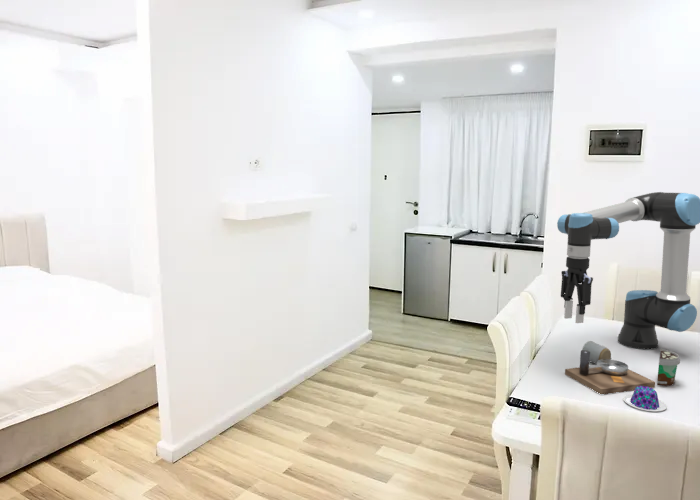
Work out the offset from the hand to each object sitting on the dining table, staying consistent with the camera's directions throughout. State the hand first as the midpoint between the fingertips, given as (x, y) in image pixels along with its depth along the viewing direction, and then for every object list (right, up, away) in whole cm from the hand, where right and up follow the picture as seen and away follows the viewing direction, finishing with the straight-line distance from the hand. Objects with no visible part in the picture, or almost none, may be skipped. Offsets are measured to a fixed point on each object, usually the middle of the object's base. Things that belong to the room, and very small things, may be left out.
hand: (573, 320), depth 185 cm
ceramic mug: (+15, -18, +13) cm, 27 cm away
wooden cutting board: (+10, -21, -4) cm, 24 cm away
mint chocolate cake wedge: (+30, -21, -6) cm, 37 cm away
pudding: (+13, -24, -22) cm, 35 cm away
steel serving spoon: (+9, -18, -2) cm, 20 cm away
